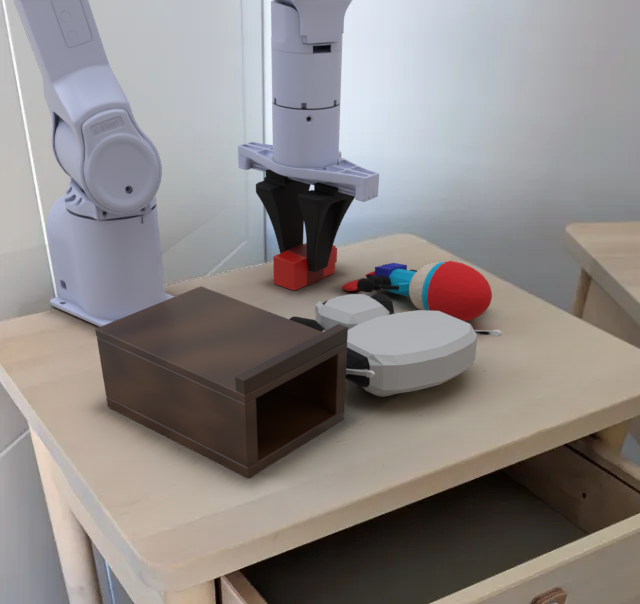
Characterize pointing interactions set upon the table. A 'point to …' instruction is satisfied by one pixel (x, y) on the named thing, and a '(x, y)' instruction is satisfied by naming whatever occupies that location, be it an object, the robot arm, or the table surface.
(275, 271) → the red block
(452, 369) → the robot toy
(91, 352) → the table surface
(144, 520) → the table surface
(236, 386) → the shelf
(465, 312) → the toy figure
